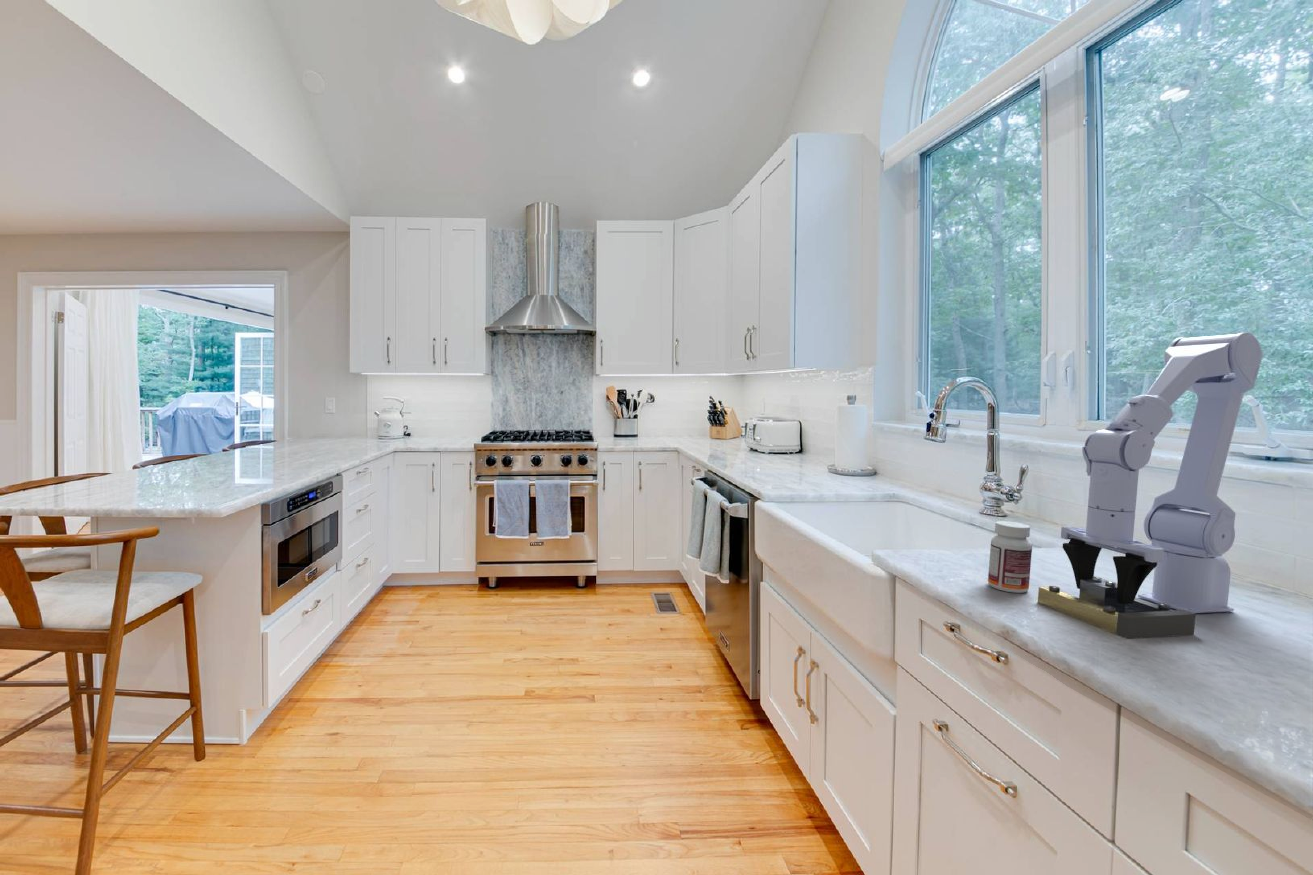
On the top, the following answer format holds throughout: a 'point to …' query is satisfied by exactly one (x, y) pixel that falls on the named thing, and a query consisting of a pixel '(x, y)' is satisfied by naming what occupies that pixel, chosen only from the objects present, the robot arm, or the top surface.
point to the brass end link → (1079, 608)
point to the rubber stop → (1155, 624)
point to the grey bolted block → (1100, 593)
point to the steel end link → (1145, 606)
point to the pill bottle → (1010, 557)
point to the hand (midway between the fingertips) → (1103, 595)
